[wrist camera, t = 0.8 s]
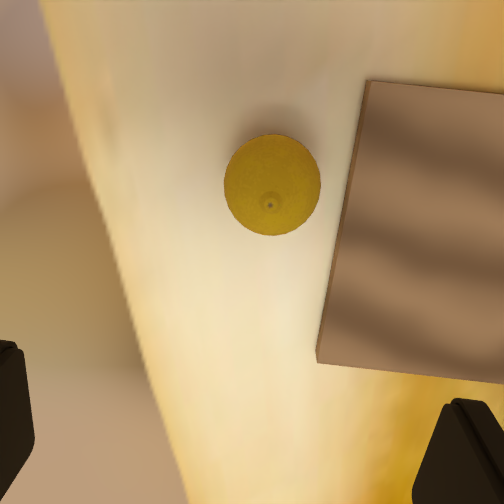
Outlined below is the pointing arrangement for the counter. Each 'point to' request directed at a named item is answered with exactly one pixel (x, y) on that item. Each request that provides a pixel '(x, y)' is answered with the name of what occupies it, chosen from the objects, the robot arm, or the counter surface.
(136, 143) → the counter surface
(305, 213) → the lemon
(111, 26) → the counter surface
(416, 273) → the serving board
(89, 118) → the counter surface
